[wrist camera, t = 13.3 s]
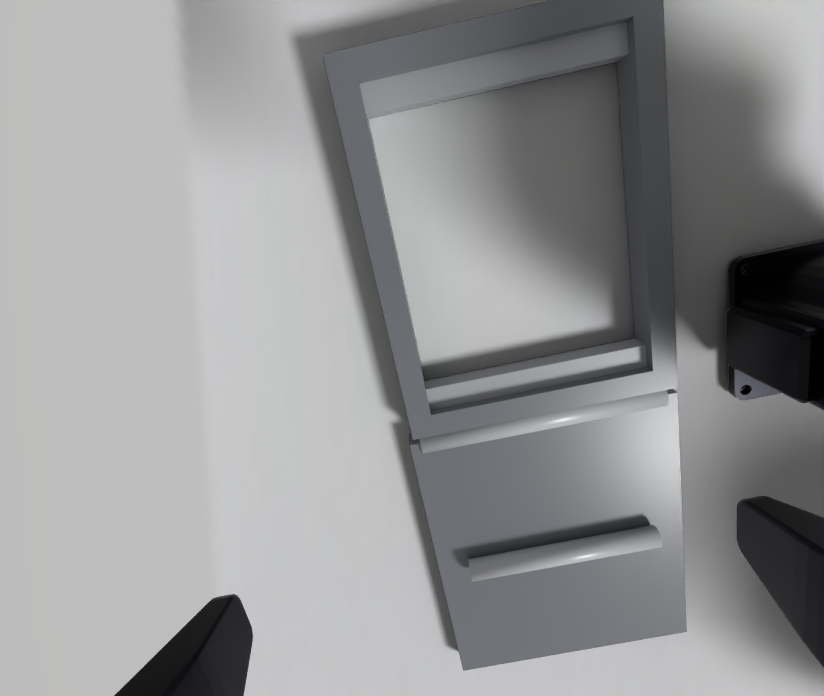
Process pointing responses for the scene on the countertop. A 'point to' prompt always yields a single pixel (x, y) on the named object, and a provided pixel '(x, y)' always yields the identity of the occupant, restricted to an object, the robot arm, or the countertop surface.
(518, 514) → the grey flat frame
